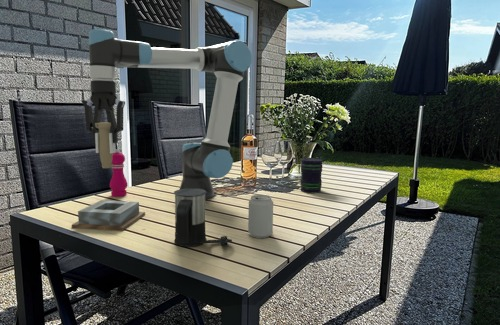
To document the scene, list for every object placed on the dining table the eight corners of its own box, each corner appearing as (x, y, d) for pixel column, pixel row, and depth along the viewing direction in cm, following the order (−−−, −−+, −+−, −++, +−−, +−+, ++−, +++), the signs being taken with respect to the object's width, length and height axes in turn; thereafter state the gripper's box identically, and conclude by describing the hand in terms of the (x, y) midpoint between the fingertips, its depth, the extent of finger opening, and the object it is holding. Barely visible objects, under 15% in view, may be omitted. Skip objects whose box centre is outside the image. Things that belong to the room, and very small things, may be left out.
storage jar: (320, 188, 175) (321, 158, 173) (322, 193, 165) (323, 161, 163) (299, 188, 176) (300, 157, 174) (300, 192, 166) (301, 160, 164)
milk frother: (174, 236, 108) (173, 188, 106) (226, 233, 111) (226, 186, 109) (174, 255, 94) (173, 200, 92) (234, 251, 98) (234, 198, 95)
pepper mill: (122, 197, 152) (120, 150, 149) (106, 196, 154) (104, 149, 151) (131, 193, 159) (129, 148, 156) (116, 192, 161) (114, 147, 158)
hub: (145, 214, 129) (144, 201, 128) (122, 230, 112) (122, 215, 111) (100, 212, 131) (99, 198, 130) (71, 227, 114) (70, 212, 113)
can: (247, 230, 114) (247, 193, 112) (270, 230, 115) (271, 193, 113) (249, 239, 107) (249, 199, 105) (274, 238, 107) (275, 199, 106)
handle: (107, 169, 117) (103, 123, 115) (94, 168, 120) (91, 122, 118) (119, 167, 121) (116, 122, 119) (107, 166, 124) (104, 122, 122)
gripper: (133, 81, 120) (135, 152, 123) (83, 81, 121) (86, 150, 124) (124, 80, 112) (126, 154, 116) (71, 79, 113) (74, 153, 117)
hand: (105, 152), depth 120 cm, fingers closed on handle, 4 cm apart
